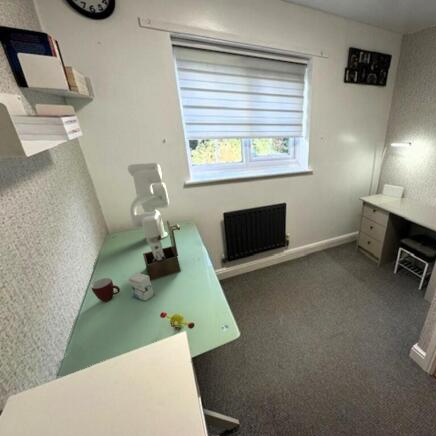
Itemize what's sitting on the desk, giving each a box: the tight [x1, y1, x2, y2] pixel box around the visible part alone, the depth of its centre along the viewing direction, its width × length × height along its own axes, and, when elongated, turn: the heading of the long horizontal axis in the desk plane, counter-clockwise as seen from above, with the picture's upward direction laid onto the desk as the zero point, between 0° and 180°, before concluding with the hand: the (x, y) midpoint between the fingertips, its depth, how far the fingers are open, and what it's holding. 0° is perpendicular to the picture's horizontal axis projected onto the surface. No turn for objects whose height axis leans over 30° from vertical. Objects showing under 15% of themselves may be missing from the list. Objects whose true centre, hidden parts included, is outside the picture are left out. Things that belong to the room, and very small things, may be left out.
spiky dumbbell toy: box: [159, 311, 195, 330], centre depth 101 cm, size 18×6×7 cm, turn 69°
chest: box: [142, 245, 181, 282], centre depth 139 cm, size 16×15×10 cm
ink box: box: [128, 272, 154, 301], centre depth 118 cm, size 9×5×12 cm, turn 71°
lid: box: [166, 220, 181, 257], centre depth 139 cm, size 17×15×5 cm
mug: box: [90, 277, 121, 303], centre depth 116 cm, size 10×8×10 cm
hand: (160, 264), depth 139 cm, fingers closed on bowl, 6 cm apart
